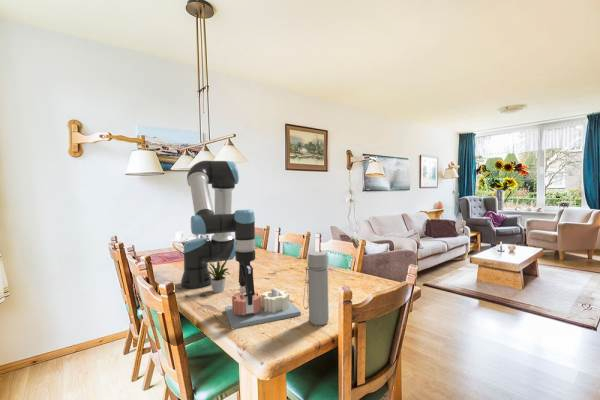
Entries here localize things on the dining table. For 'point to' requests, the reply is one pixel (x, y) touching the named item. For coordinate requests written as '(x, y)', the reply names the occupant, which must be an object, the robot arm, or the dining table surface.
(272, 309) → the board
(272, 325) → the dining table surface
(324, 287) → the water bottle
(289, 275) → the dining table surface
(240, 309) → the gear
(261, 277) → the dining table surface
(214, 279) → the house plant
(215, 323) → the dining table surface
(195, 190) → the robot arm
